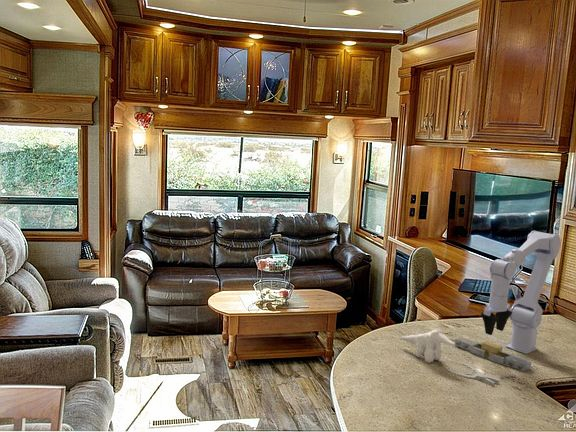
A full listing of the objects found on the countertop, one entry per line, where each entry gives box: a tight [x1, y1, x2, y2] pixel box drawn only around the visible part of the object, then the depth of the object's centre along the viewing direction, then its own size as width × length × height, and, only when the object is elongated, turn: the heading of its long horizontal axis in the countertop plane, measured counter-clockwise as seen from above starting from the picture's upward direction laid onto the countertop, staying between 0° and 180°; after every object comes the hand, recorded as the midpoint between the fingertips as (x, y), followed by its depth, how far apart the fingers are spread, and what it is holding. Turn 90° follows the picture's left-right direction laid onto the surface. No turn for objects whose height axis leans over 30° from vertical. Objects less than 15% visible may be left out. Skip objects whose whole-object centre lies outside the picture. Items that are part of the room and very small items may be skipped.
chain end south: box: [454, 336, 486, 358], centre depth 188 cm, size 6×12×2 cm, turn 40°
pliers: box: [445, 362, 500, 387], centre depth 165 cm, size 10×2×15 cm
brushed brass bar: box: [481, 340, 503, 359], centre depth 182 cm, size 3×6×4 cm, turn 40°
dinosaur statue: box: [397, 328, 455, 363], centre depth 177 cm, size 7×24×11 cm, turn 36°
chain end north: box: [488, 350, 533, 373], centre depth 177 cm, size 6×12×2 cm, turn 40°
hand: (494, 331), depth 181 cm, fingers open, 7 cm apart
